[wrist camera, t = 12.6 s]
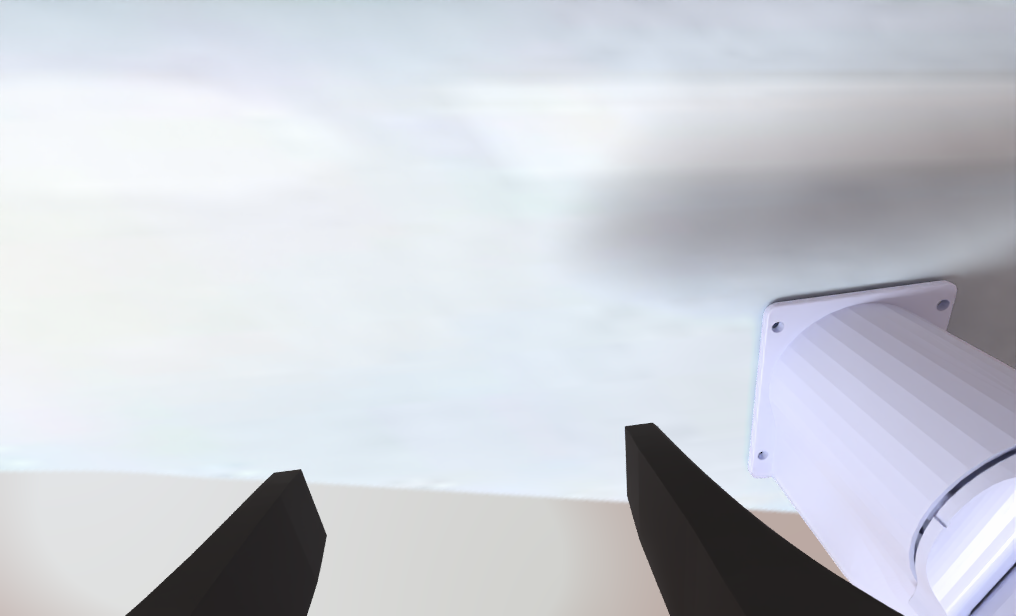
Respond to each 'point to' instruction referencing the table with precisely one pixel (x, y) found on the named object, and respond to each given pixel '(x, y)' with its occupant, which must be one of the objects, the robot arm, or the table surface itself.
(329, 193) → the table surface
